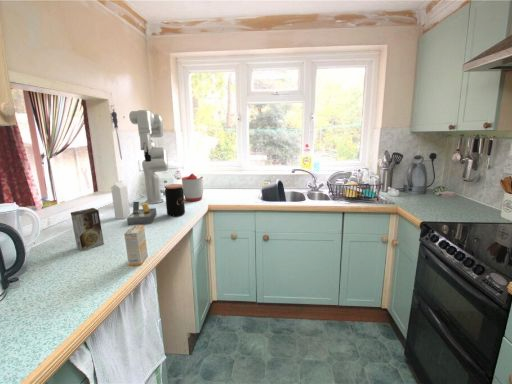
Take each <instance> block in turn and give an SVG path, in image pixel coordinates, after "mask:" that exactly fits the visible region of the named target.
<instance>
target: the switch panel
mask: <svg viewBox="0 0 512 384" xmlns="http://www.w3.org/2000/svg"><path fill="white" fill-rule="evenodd" d="M149 210H150V213H144V211H143V208H142V209H140V208H139V213H133V212H132V213H130V216H129V217H127V218H126V221H127V226H140V225H149V224H152V223H153V221H154V220H155V218H156V216H157V215H158V214H157V207H156V208H155V207H153V208H152V207H151V208H149Z"/></svg>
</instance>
